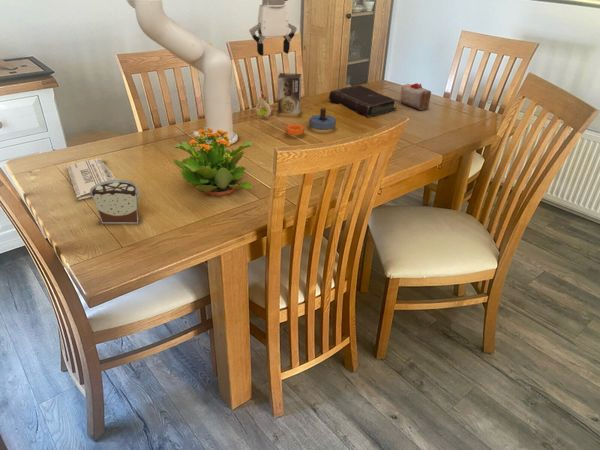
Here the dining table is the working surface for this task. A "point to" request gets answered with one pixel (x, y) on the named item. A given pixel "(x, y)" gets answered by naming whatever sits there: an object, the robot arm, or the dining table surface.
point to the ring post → (322, 116)
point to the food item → (415, 96)
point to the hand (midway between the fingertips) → (273, 53)
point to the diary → (363, 100)
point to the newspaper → (88, 176)
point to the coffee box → (289, 93)
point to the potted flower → (213, 164)
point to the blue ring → (322, 122)
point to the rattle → (263, 103)
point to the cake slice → (116, 201)
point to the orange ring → (294, 129)
